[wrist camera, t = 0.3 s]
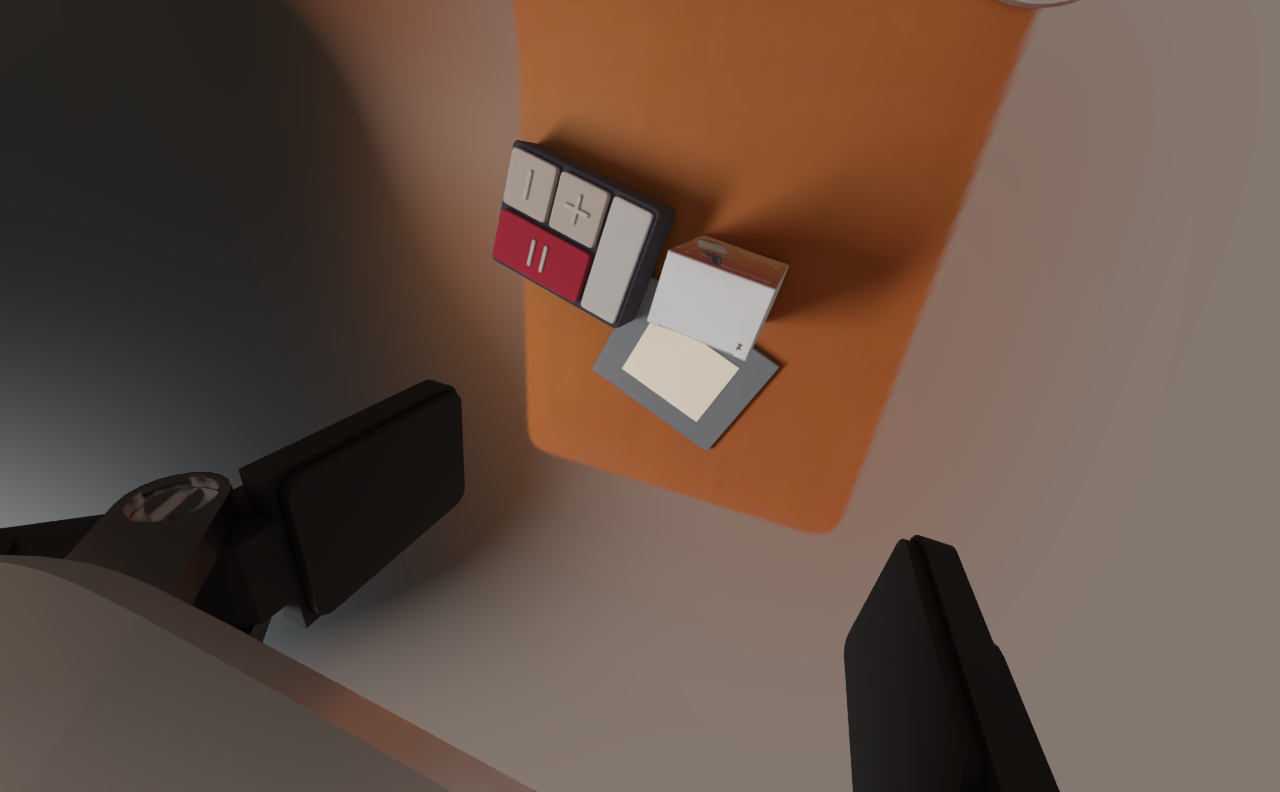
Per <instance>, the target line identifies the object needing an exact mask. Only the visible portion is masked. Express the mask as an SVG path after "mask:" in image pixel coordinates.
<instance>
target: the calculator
mask: <svg viewBox="0 0 1280 792" xmlns="http://www.w3.org/2000/svg"><path fill="white" fill-rule="evenodd" d="M674 217H675V211H674V209H673V208H671V207H669V206H667V205H665V204H663V203H661V202H659V201H657V200H654V199H652V198H650V197H648V196H646V195H644V194H642V193H640V192H637V191H635V190H632V189H630V188H627V187H625V186H623V185H621V184H619V183H617V182H615V181H613V180H611V179H609V178H607V177H605V176H603V175H601V174H599V173H596V172H594V171H592V170H590V169H588V168H586V167H584V166H582V165H580V164H578V163H576V162H574V161H572V160H570V159H568V158H566V157H564V156H562V155H560V154H558V153H555V152H553V151H551V150H549V149H547V148H545V147H543V146H541V145H539V144H536V143H531V142H525V141H520V140H517V141H515V142H514V144H513V149H512V154H511V160H510V165H509V170H508V175H507V181H506V186H505V191H504V197H503V202H502V207H501V213H500V218H499V223H498V228H497V234H496V239H495V244H494V249H493V259H494V260H496V261H497V262H499V263H501V264H502V265H504V266H506V267H508V268H510V269H511V270H513V271H515V272H517V273H518V274H520V275H522V276H523V277H525V278H527V279H529V280H530V281H532V282H534V283H536V284H537V285H539V286H541V287H543V288H544V289H546V290H548V291H550V292H551V293H553V294H555V295H557V296H558V297H560V298H562V299H564V300H565V301H567V302H569V303H571V304H572V305H574V306H576V307H578V308H579V309H581V310H583V311H585V312H586V313H588V314H590V315H592V316H593V317H595V318H597V319H599V320H600V321H602V322H604V323H606V324H607V325H609V326H611V327H613V328H615V329H616V328H619V327H621V326H623V325H625V324H627V323H629V322H631V321H633V320H634V319H635V317H636V315H637V312H638V310H639V307H640V305H641V302H642V299H643V297H644V294H645V292H646V289H647V287H648V284H649V281H650V279H651V276H652V274H653V271H654V268H655V266H656V263H657V261H658V258H659V256H660V253H661V250H662V248H663V245H664V243H665V240H666V238H667V235H668V232H669V230H670V227H671V225H672V222H673V219H674Z"/></svg>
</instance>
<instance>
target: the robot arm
mask: <svg viewBox="0 0 1280 792" xmlns="http://www.w3.org/2000/svg"><path fill="white" fill-rule="evenodd" d="M998 1H1001V2H1003V3H1006V4H1009V5H1011V6H1017V7H1025V8H1034V9H1036V8H1046V7H1057V6H1062V5H1066V4H1069V3H1073V2H1077V1H1080V0H998ZM461 408H462V407H461V398H460V397H459V396H458V395H457V392H456V390H455V388H454V387H452V386H450V385H447V384H443V383H440V382H437V381H434V380H425V381H423V382H420V383H419V384H416V385H414V386H412V387H410V388H408V389H406V390H404V391H402V392H400V393H398V394H395V395H393V396H391V397H389V398H387V399H385V400H383V401H381V402H379V403H376V404H374V405H372V406H370V407H368V408H366V409H364V410H362V411H360V412H358V413H355V414H353V415H351V416H349V417H347V418H345V419H343V420H341V421H339V422H337V423H334V424H332V425H330V426H328V427H326V428H324V429H322V430H320V431H318V432H316V433H313V434H311V435H309V436H307V437H305V438H303V439H301V440H299V441H297V442H295V443H293V444H290V445H288V446H286V447H284V448H282V449H280V450H278V451H276V452H274V453H271V454H269V455H267V456H265V457H264V458H261V459H259V460H257V461H255V462H253V463H251V464H248V465H246V466H244V467H242V468H240V469H239V473H240V476H241V480H242V483H243V485H242V486H240V487H238V488H236V489H234V490H233V488H232V485H231V482H230V480H229V478H227V477H225V476H224V475H222V474H219V473H214V472H209V471H208V472H207V471H206V472H205V471H204V472H187V473H181V474H175V475H171V476H167V477H163V478H160V479H156V480H154V481H151V482H149V483H146V484H144V485H141V486H139V487H138V488H136V489H134V490H132V491H130V492H128V493H127V494H125V495H124V496H122V497H121V498H120V499H119V500H118V501H117V502H115V503H114V504H113V505H112V506H111V508H110V509H109V510H108V511H107V512H106V513H105V514H103V515H95V516H88V517H81V518H74V519H67V520H59V521H51V522H45V523H37V524H31V525H23V526H16V527H8V528H0V792H536V791H534V790H533V789H531V788H529V787H527V786H525V785H524V784H522V783H520V782H518V781H516V780H515V779H513V778H511V777H509V776H507V775H505V774H504V773H502V772H500V771H498V770H496V769H494V768H493V767H491V766H489V765H487V764H485V763H483V762H482V761H480V760H478V759H476V758H474V757H472V756H471V755H468V754H467V753H465V752H463V751H462V750H460V749H458V748H456V747H454V746H452V745H450V744H449V743H447V742H445V741H443V740H441V739H440V738H438V737H436V736H434V735H432V734H430V733H429V732H426V731H425V730H423V729H421V728H419V727H418V726H416V725H414V724H412V723H410V722H408V721H407V720H405V719H403V718H401V717H399V716H397V715H396V714H394V713H392V712H390V711H388V710H386V709H384V708H382V707H381V706H379V705H377V704H375V703H374V702H372V701H370V700H368V699H366V698H364V697H363V696H361V695H358V694H357V693H355V692H353V691H351V690H349V689H348V688H346V687H344V686H342V685H340V684H339V683H337V682H335V681H333V680H331V679H329V678H327V677H326V676H324V675H322V674H320V673H318V672H316V671H314V670H313V669H310V668H309V667H307V666H305V665H303V664H301V663H299V662H298V661H296V660H294V659H292V658H290V657H288V656H286V655H284V654H283V653H281V652H279V651H277V650H275V649H273V648H271V647H270V646H268V645H266V644H264V643H263V641H264V638H265V635H266V632H267V629H268V626H269V624H270V621H271V618H272V616H273V615H274V614H276V613H277V612H278V611H279V610H281V609H282V610H283V613H284V616H285V617H286V618H287V619H289V620H291V621H293V622H295V623H297V624H299V625H301V626H303V627H305V628H307V627H309V625H311V624H312V623H313V622H314V621H315V620H317V619H318V618H319V617H320V616H321V615H325V614H329V613H331V612H332V611H334V610H335V609H336V608H337V607H339V606H340V605H341V604H342V603H343V602H345V601H346V600H347V599H348V598H349V597H350V596H351V595H353V594H354V593H355V592H356V591H357V590H358V589H360V588H361V587H362V586H363V585H364V584H365V583H367V582H368V581H369V580H370V579H371V578H372V577H373V576H375V575H376V574H377V573H378V572H379V571H380V570H382V569H383V568H384V567H385V566H386V565H387V564H389V562H391V561H392V560H393V559H394V558H395V557H397V556H398V555H399V554H400V553H401V552H402V551H403V550H405V549H406V548H407V547H408V546H409V545H410V544H412V543H413V542H414V541H415V540H416V539H417V538H419V537H420V536H421V535H422V534H423V533H424V532H425V531H427V530H428V529H429V528H430V527H431V526H432V525H434V523H436V522H437V521H438V520H439V519H440V518H442V517H443V516H444V515H445V514H446V513H447V512H449V511H450V510H451V509H452V508H453V507H454V506H455V505H457V504H458V503H459V501H460V500H461V498H462V496H463V494H464V489H465V484H464V459H463V435H462V409H461ZM844 662H845V676H846V693H847V708H848V723H849V737H850V753H851V768H852V784H853V792H1060V791H1059V789H1058V786H1057V784H1056V781H1055V779H1054V777H1053V774H1052V772H1051V769H1050V767H1049V765H1048V762H1047V760H1046V757H1045V755H1044V752H1043V750H1042V748H1041V745H1040V743H1039V740H1038V738H1037V735H1036V733H1035V731H1034V728H1033V726H1032V723H1031V721H1030V719H1029V716H1028V714H1027V711H1026V709H1025V706H1024V704H1023V702H1022V699H1021V697H1020V694H1019V692H1018V689H1017V687H1016V684H1015V682H1014V680H1013V677H1012V675H1011V672H1010V670H1009V668H1008V665H1007V663H1006V660H1005V658H1004V656H1003V654H1002V652H1001V651H1000V649H999V647H998V646H997V645H995V644H994V643H993V640H992V638H991V635H990V633H989V630H988V628H987V625H986V623H985V621H984V618H983V616H982V613H981V610H980V608H979V605H978V603H977V600H976V598H975V596H974V593H973V590H972V588H971V586H970V583H969V581H968V578H967V576H966V573H965V571H964V568H963V566H962V563H961V561H960V558H959V556H958V553H957V551H956V549H955V548H954V547H953V546H951V545H948V544H944V543H942V542H939V541H935V540H932V539H929V538H926V537H923V536H920V535H915V536H913V537H912V538H911V539H910V541H909V540H905V539H901V540H899V541H898V543H897V545H896V546H895V548H894V550H893V552H892V554H891V556H890V558H889V559H888V561H887V563H886V565H885V567H884V569H883V571H882V572H881V574H880V576H879V578H878V580H877V582H876V583H875V585H874V587H873V589H872V591H871V593H870V594H869V596H868V598H867V600H866V602H865V604H864V606H863V608H862V609H861V611H860V613H859V615H858V617H857V619H856V620H855V622H854V624H853V626H852V628H851V630H850V632H849V634H848V636H847V638H846V642H845V648H844Z"/></svg>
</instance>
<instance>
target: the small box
mask: <svg viewBox="0 0 1280 792" xmlns="http://www.w3.org/2000/svg"><path fill="white" fill-rule="evenodd" d="M788 268H789V265H788V264H786V263H783V262H780V261H777V260H773V259H770V258H767V257H764V256H761V255H759V254H756V253H753V252H750V251H747V250H745V249H742V248H739V247H737V246H734V245H731V244H728V243H726V242H723V241H720V240H717V239H714V238H712V237H709V236H706V235H703V236H700V237H698V238H696V239H693V240H691V241H689V242H686V243H684V244H681V245H679V246H677V247H674V248H672V249H669V250H668V253H667V257H666V260H665V263H664V266H663V269H662V273H661V276H660V279H659V282H658V286H657V289H656V292H655V295H654V299H653V302H652V305H651V309H650V312H649V315H648V318H647V321H648V322H649V323H652V324H655V325H657V326H660V327H663V328H666V329H669V330H671V331H674V332H676V333H679V334H681V335H684V336H686V337H689V338H691V339H694V340H696V341H699V342H701V343H704V344H706V345H708V346H711V347H713V348H716V349H718V350H720V351H723V352H725V353H728V354H730V355H732V356H734V357H736V358H738V359H740V360H742V361H746V360H747V359H748V357H749V355H750V353H751V351H752V348H753V346H754V344H755V342H756V340H757V338H758V336H759V334H760V332H761V330H762V328H763V325H764V323H765V321H766V319H767V317H768V315H769V313H770V310H771V308H772V306H773V304H774V301H775V299H776V297H777V294H778V292H779V290H780V287H781V285H782V282H783V280H784V277H785V275H786V273H787V270H788Z"/></svg>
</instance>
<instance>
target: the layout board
mask: <svg viewBox="0 0 1280 792" xmlns="http://www.w3.org/2000/svg"><path fill="white" fill-rule="evenodd" d="M658 282H659V280H658V279H656V278H655V277H653V276H651V279H650V281H649V284H648V287H647V289H646V292H645V294H644V297H643V299H642V302H641V305H640V307H639V310H638V312H637V315H636V317H635V319H634V320H633V321H631V322H629V323H627V324H625V325H623V326H621V327H619V328H616V329H614V331H613V333H612V334H611V336H610V338H609V340H608V341H607V343H606V345H605V347H604V348H603V350H602V352H601V354H600V355H599V357H598V359H597V361H596V362H595V364H594V366H593V368H592V369H593V370H594V371H596V372H597V373H598V374H600V375H601V376H602V377H604V378H605V379H607V380H608V381H609V382H611V383H612V384H614V385H615V386H616V387H618V388H619V389H620V390H622V391H623V392H625V393H626V394H627V395H629V396H630V397H632V398H633V399H634V400H636V401H637V402H638V403H640V404H641V405H643V406H644V407H645V408H647V409H648V410H650V411H651V412H652V413H654V414H655V415H657V416H658V417H659V418H661V419H662V420H663V421H665V422H666V423H668V424H669V425H670V426H672V427H673V428H675V429H676V430H677V431H679V432H680V433H681V434H683V435H684V436H686V437H687V438H688V439H690V440H691V441H693V442H694V443H695V444H697V445H698V446H699V447H701V448H702V449H704V450H705V451H706V452H707V450H708V449H709V448H710V447H711V446H712V445H713V444H714V442H715V441H716V440H717V439H718V438H719V437H720V435H721V434H722V433H723V432H724V431H725V430H726V428H727V427H728V426H729V425H730V424H731V423H732V421H733V420H734V419H735V418H736V417H737V416H738V415H739V413H740V412H741V411H742V410H743V409H744V408H745V406H746V405H747V404H748V403H749V402H750V401H751V399H752V398H753V397H754V396H755V395H756V394H757V392H758V391H759V390H760V389H761V388H762V387H763V385H764V384H765V383H766V382H767V381H768V380H769V379H770V377H771V376H772V375H773V374H774V373H775V372H776V370H777V369H778V368H779V366H780V365H779V364H777V363H776V362H774V361H773V360H772V359H770V358H769V357H767V356H766V355H764V354H763V353H762V352H760V351H759V350H757V349H756V348H754V347H753V348H752V351H751V353H750V355H749V357H748V359H747V360H746V361H742V360H740V359H738V358H736V357H734V356H732V355H730V354H728V353H725V352H723V351H720V350H718V349H716V348H713V347H711V346H708V345H706V344H704V343H701V342H699V341H696V340H694V339H691V338H689V337H686V336H684V335H681V334H679V333H676V332H674V331H671V330H669V329H666V328H663V327H660V326H657V325H655V324H652V323H649V322H648V321H647V318H648V315H649V312H650V309H651V305H652V302H653V299H654V295H655V292H656V289H657V286H658Z"/></svg>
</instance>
